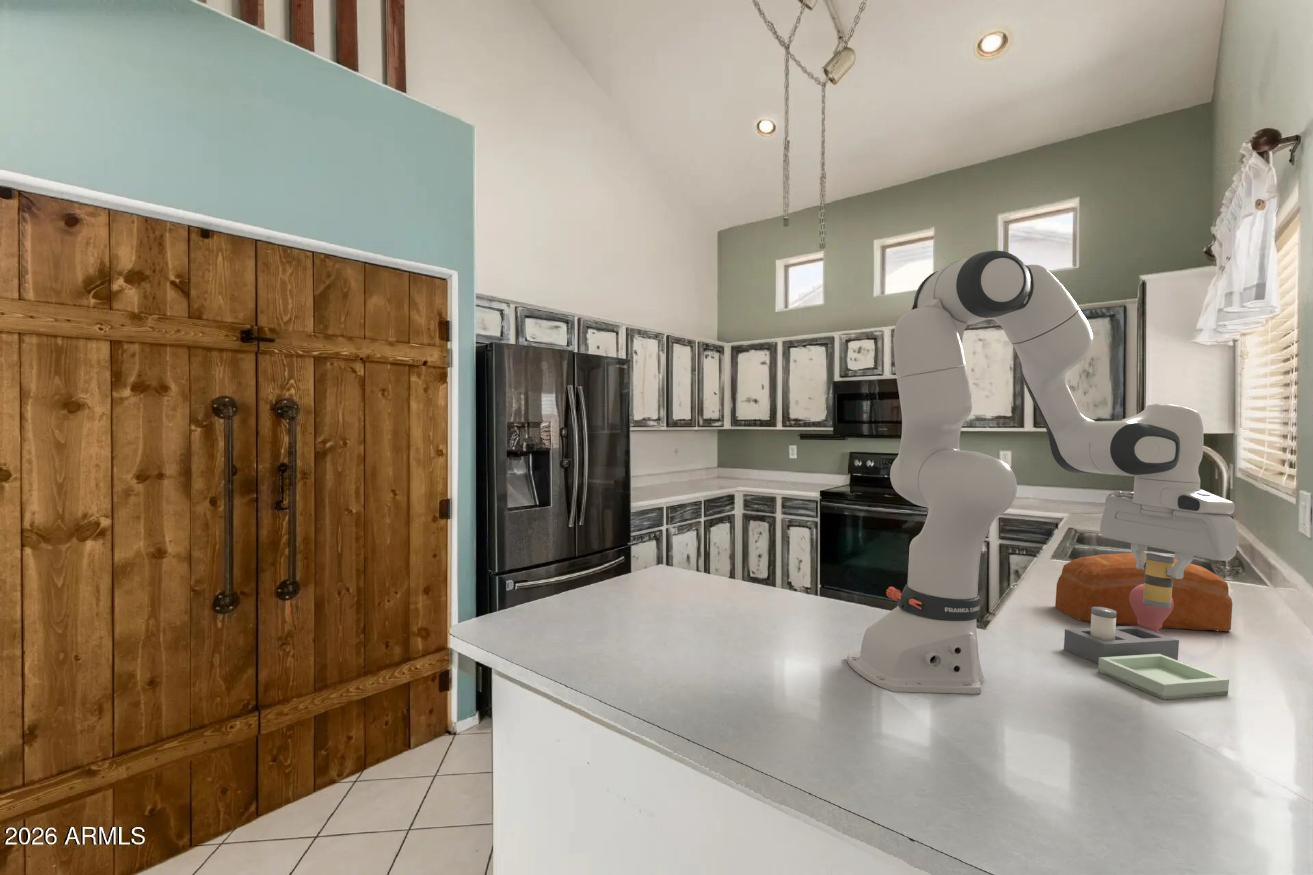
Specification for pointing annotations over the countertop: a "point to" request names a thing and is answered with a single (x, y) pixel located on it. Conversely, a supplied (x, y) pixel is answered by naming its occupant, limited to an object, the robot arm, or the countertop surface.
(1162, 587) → the cylinder
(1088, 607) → the bread
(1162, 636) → the fuse holder
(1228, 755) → the countertop surface
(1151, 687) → the tray
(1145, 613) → the light bulb
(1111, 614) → the ball
